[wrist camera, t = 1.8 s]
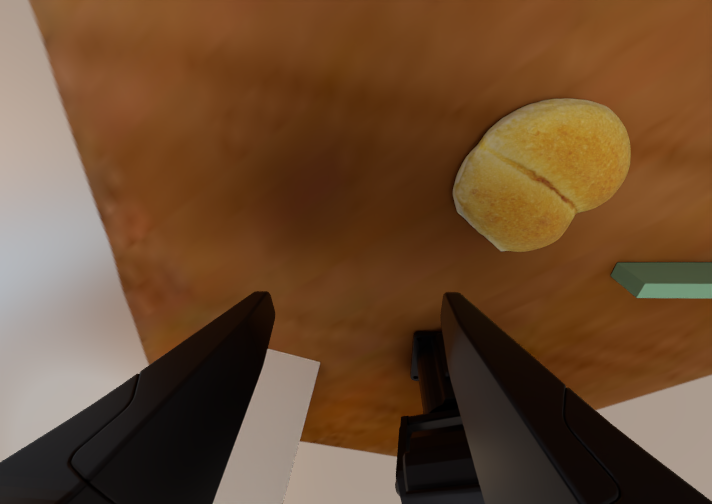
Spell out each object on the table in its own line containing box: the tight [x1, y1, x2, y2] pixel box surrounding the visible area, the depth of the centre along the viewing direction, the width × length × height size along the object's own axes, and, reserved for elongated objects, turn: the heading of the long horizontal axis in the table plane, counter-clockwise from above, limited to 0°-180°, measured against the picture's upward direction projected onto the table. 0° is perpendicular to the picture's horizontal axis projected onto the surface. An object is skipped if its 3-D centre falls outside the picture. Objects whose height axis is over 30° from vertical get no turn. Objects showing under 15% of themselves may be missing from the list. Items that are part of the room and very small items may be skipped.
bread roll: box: [453, 98, 631, 252], centre depth 16 cm, size 8×9×4 cm
